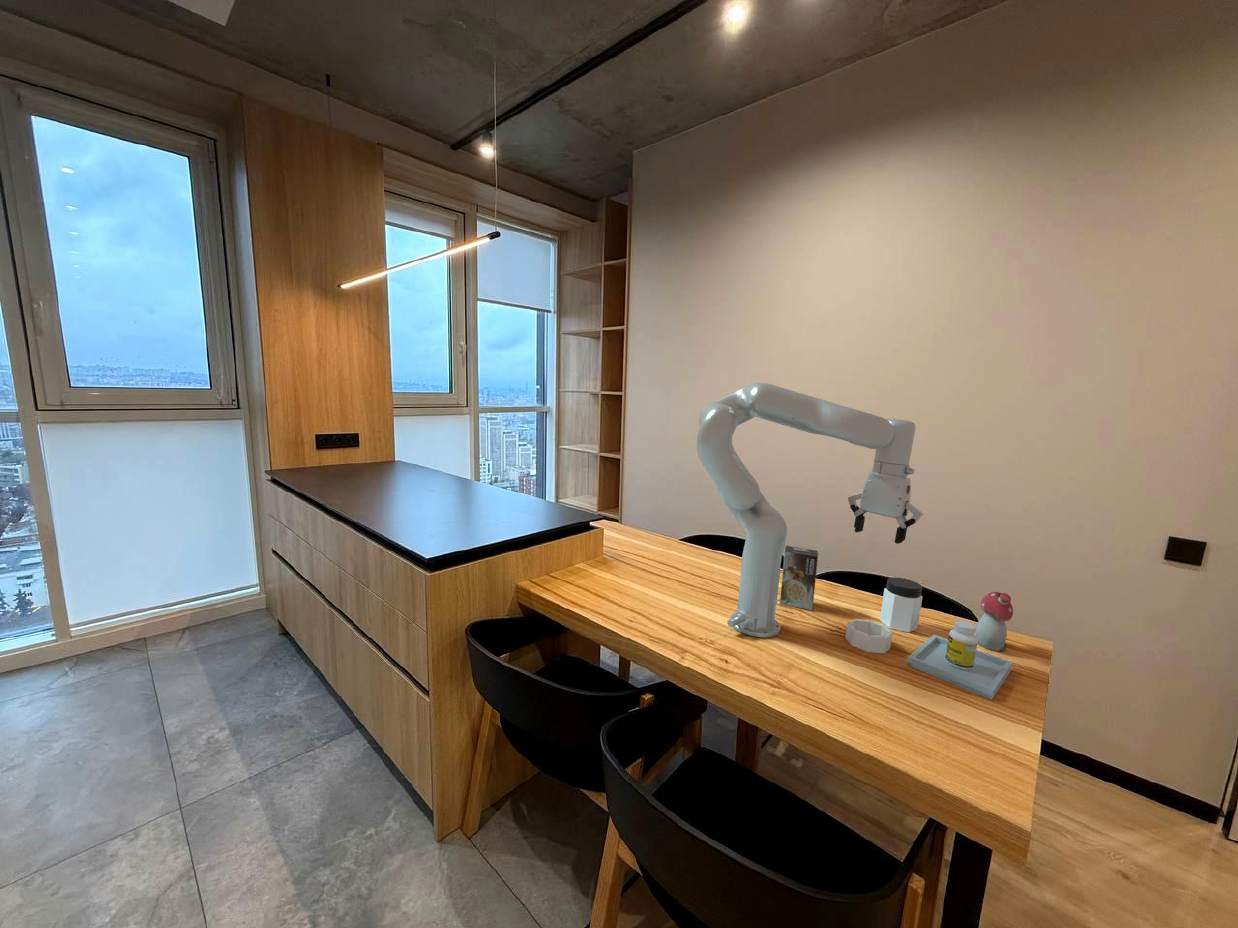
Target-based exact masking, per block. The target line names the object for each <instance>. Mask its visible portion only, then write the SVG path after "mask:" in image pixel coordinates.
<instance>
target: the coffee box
mask: <svg viewBox="0 0 1238 928" xmlns="http://www.w3.org/2000/svg"><path fill="white" fill-rule="evenodd" d="M783 555H784V556H783V566H782V575H781V576H782V577H781V587H780V595H779V598H780V599H779V605H783V606H787V607H793V608H799V609H804V610H808V611H813V609H814V607H813V606H814V597H815V589H816V588H815V587H816V580H817V569H818V567H817V566H818V557H819V552H818V550H816V549H809V548H803V547H796V546H790V545H786V546H784V554H783Z"/></svg>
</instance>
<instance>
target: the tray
mask: <svg viewBox="0 0 1238 928" xmlns="http://www.w3.org/2000/svg"><path fill="white" fill-rule="evenodd" d="M947 644H948V639H947V638H945V637H941V636H938V635H936V634H932V635H931V636H930V637H928V638H927V640H925V641H924V642H923V643H922V644H921V645H920V646H918V648H916V649H915V650H914V651H913V652H912V653H911V654H910V655H908V657H907V664H906V665H907V666H908V667H911V668H913V669H915V670H919V671H921V672H923V673H925V674H927V675H930V676H932V677H935V678H938V679H940V680H942V681H945V682H947V683H950V684H952V685H954V686H957V687H959V688H962V689H964V690H966V691H969V692H972V693H974V694H977V695H980V696H982V697H984V698H987V699H989V700H993V699H994V698H995V696H996V694H997V693H998V691H999V690H1000V689H1001V687H1002V685H1003V683H1004V682H1005V681H1006V679H1007V677H1009V674H1010V673H1011V671H1012V667H1013V662H1012V661H1009V660H1006V659H1003V658H1001V657H998V656H995V655H993V654H990V653H987V652H984V651H981V650H978V649H976V655H975V660H974V666H973V669H971V670H962V669H958V668H956V667H953V666H951V665H950V664H948V663H947V662H946V660H945V656H946V650H947Z"/></svg>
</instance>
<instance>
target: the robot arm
mask: <svg viewBox="0 0 1238 928" xmlns="http://www.w3.org/2000/svg"><path fill="white" fill-rule="evenodd" d="M754 418H759V419H761V420H765V421H768V422H771V423H776V424H779V425H782V426H786V427H789V428H790V429H791V428H792V429H795V430H798V431H801V432H806V433H808V434H813V435H819V436H820V435H821V436H826V437H830V438H834V439H837V440H841V441H844V442H849V443H850V444H852V445H855V446H859V447H863V448H867V449H869V450H875V453H874V460H873V465H872V471H870V472H869V473H868V475H867V477H866V479H865V483H864V486H863V488H862V492H861V493H858V494H855V495H851V496H848V497H847V500H848V504H849V508H850V509H851V510H852V513H853V515H854V517H855V519H854V524H853V528H854V533H861V532H863V530H864V526H865V520H866V516H865V514H866V513H872V514H875V515H878V516H882V517H887V518H892V519H895V520H896V522H897V524H898V525H899V526H898V527H896V532H895V538H894V543H895V544H897V545H899V544H902V543H903V542H904V541H905V540H906V538H907V537H906V536H907V532H908V531H907V530H908V528H909V527H910V526H912V525H914V524H916V523H917V522H918V521H919V520H920V519H921V517H922V516H923V515H924V514H923V512H922V511H921V510H919V509H918V508H917V507H915V506H914V505H913V504H911V494H912V493H911V492H912V491H911V490H912V489H911V478H909V477H907V476H909V475H914V474H915V468H912V467H911V465H910V462H911V461H910V460H911V454H912V450H913V445H914V439H915V434H916V428H917V427H916V424H915V423H914V422H913V421H911V420H907V419H896V418H884V417H882V416H879V415H876V414H873V413H868V412H866V411H863V410H859V409H855V408H852V407H848V406H845V405H841V404H837V403H834V402H831V401H828V400H826V399H822V398H818V397H815V396H811V395H808V394H804V393H801V392H798V391H795V390H791V389H788V388H784V387H782V386H778V385H774V384H772V383H768V382H767V383H766V382H756V383H750V384H748V385H746V386H744V387H742V388H740V389H738V390H735V391H734V392H732V393H730V394H728V395H726V396H723V397H722V398H719V399H717V400H715V401H712V402H711V403H709V404H706V405H705V406H704V407H703V408H702V410H700V412H699V414H698V424H699V429H698V431H697V434H696V435H697V437H696V452H697V455H698V458H699V460H700V462H701V464H702V466H703V468H704V470H705V471H706V473H707V474H708V475H709V477H710V479H711V480H712V481H713V483H714V484H715V486H716V489H717V492H718V494H719V496H720V497H721V499H722V501H723V502H724V503H725V505H726V507H727V508H728V509H729V510H730V512H731V514H732V515H733V517H734V518H735V519H736V521H737V522H738V524H739V525H740V526H741V528H742V529H743V530H744V533H746V536H745V542H744V546H743V551H742V558H741V569H740V576H739V577H740V578H739V579H740V580H739V588H738V600H737V608H736V609H737V610H735V612H734V613H732V614H731V615H730V619H728V620H727V622H726V623H727V625H728V627H729V628H733V629H734V630H736V631H737V632H739V633H741V634H743V635H747V636H750V637H755V638H772V637H775V636H777V635H779V634H780V632H781V625H780V623H779V621H777V620H776V613H777V609H776V608H777V605H778V604H777V602H778V594H779V585H780V584H779V583H780V575H781V567H782V558H783V552H784V550H785V545H786V540H787V535H788V527H787V522H786V521H785V519H784V518H785V517H784V516H783V515H782V514H781V513H780V512H779V511H778V510H777V509H776V508H774V507H773V506H772V505H771V504H770V503H769V502H768V499H766V498H765V496H764V495H763V493H762V491H761V489H760V486H759V482H758V481H757V480H756V478H755V477H754V476H753V475H752V474H751V473H750V471H749V470H748V468H747V467H746V465H745V464H744V463H743V461H742V460H741V457H739V455H738V454H737V452H736V451H735V449H734V445H733V437H734V436H733V435H734V433H735V431H736V429H737V427H738V426H740V425H742V424H744V423H746V422H748V421H750V420H752V419H754ZM859 500H860V504H859V506H858V505H857V501H859ZM909 513H911V514H912V516H911V518H909V519H907V516H908V515H909Z"/></svg>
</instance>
